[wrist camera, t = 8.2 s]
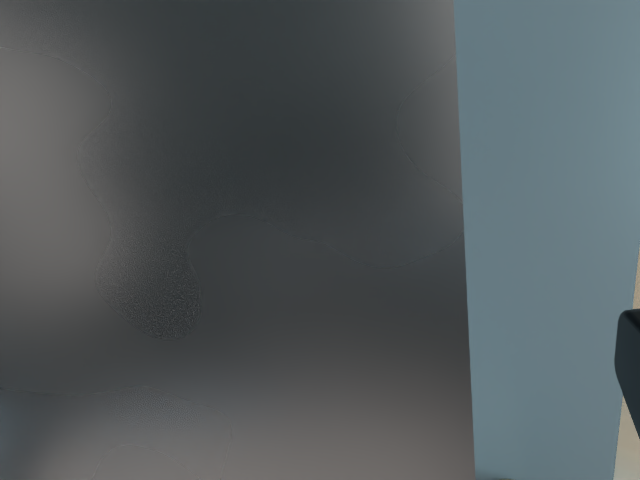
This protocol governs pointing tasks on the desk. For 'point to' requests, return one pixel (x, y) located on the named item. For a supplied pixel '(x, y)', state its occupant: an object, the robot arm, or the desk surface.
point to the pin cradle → (548, 227)
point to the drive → (232, 241)
